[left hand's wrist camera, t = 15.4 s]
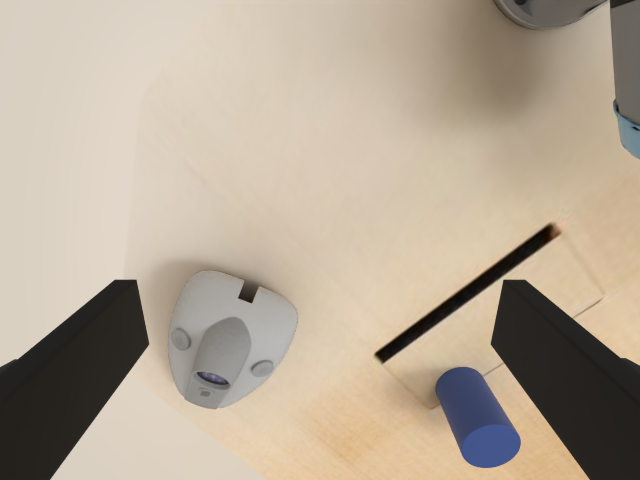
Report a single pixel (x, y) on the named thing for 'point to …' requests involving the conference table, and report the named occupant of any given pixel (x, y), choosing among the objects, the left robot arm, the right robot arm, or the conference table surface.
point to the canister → (477, 419)
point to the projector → (226, 339)
